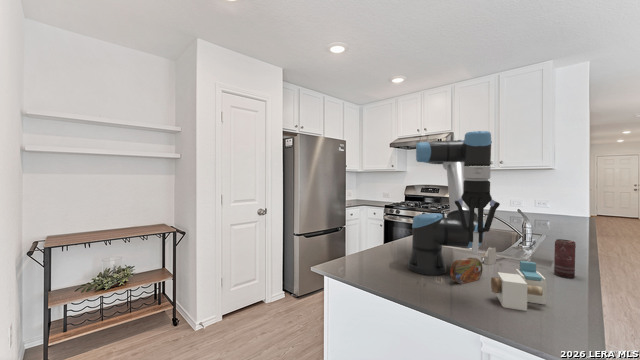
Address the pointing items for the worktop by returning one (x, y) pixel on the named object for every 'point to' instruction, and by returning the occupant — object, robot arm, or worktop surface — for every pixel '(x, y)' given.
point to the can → (564, 258)
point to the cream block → (512, 291)
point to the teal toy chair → (529, 270)
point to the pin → (532, 290)
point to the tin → (466, 270)
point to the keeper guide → (535, 283)
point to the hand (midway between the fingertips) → (475, 252)
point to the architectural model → (490, 256)
